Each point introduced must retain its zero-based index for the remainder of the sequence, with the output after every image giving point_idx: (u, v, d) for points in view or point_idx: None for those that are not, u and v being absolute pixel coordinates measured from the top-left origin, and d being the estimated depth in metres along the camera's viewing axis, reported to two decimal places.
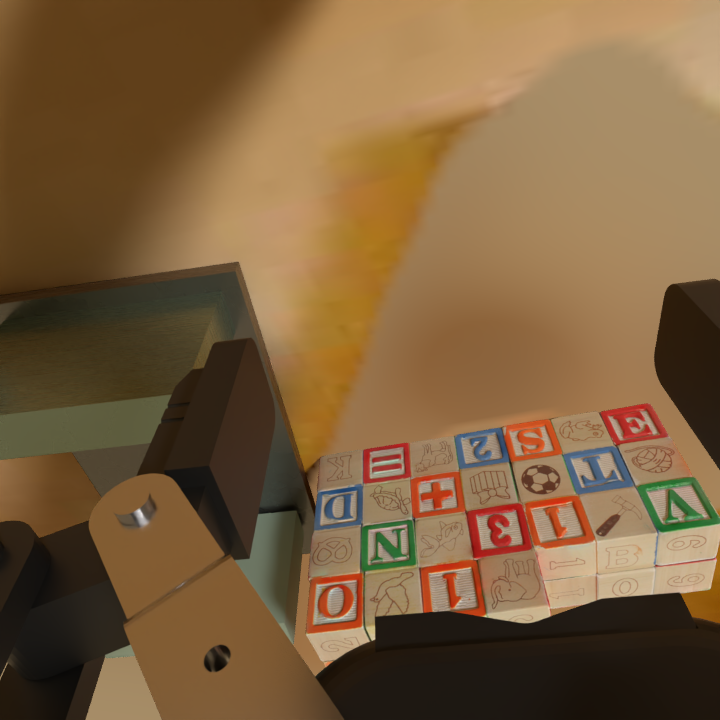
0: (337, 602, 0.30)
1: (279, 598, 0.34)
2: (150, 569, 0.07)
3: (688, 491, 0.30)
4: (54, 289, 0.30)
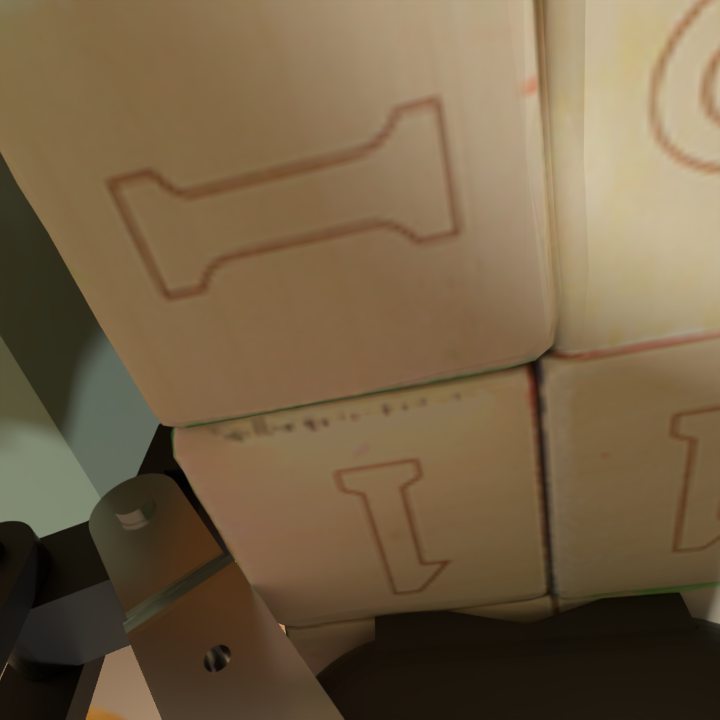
0: None
1: None
2: (150, 569, 0.07)
3: None
4: None
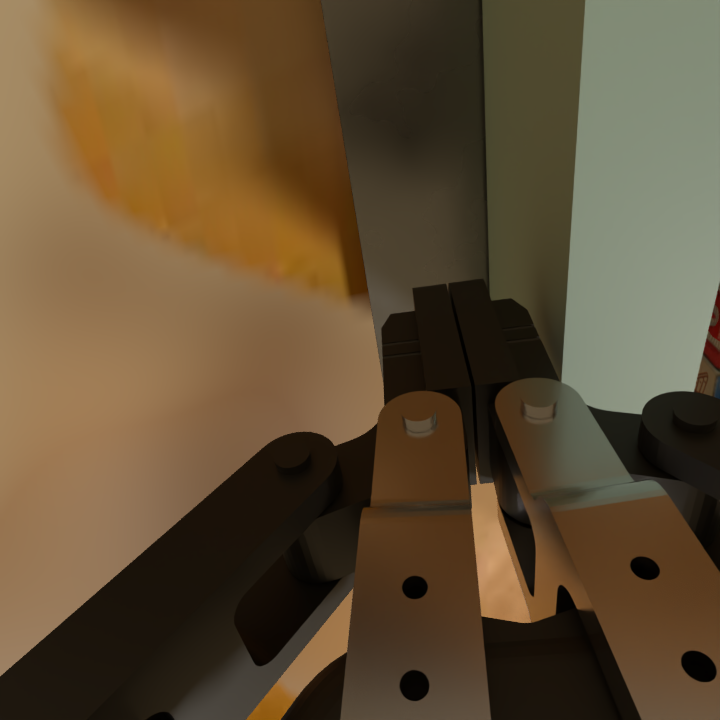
0: None
1: None
2: (405, 476, 0.07)
3: None
4: None
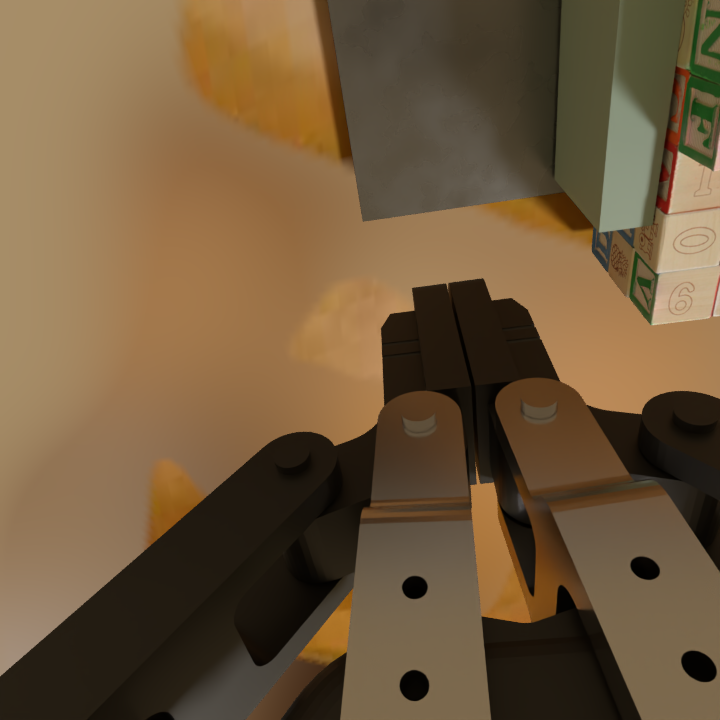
0: None
1: None
2: (405, 477, 0.07)
3: None
4: None
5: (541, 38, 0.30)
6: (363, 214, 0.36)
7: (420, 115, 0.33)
